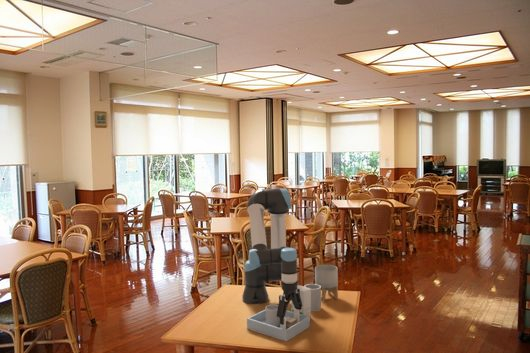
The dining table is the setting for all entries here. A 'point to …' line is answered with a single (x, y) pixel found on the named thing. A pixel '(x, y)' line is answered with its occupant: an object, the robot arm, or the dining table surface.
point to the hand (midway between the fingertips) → (290, 326)
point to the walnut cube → (290, 322)
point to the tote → (259, 325)
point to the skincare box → (304, 301)
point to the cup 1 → (272, 315)
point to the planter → (327, 279)
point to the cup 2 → (315, 296)
